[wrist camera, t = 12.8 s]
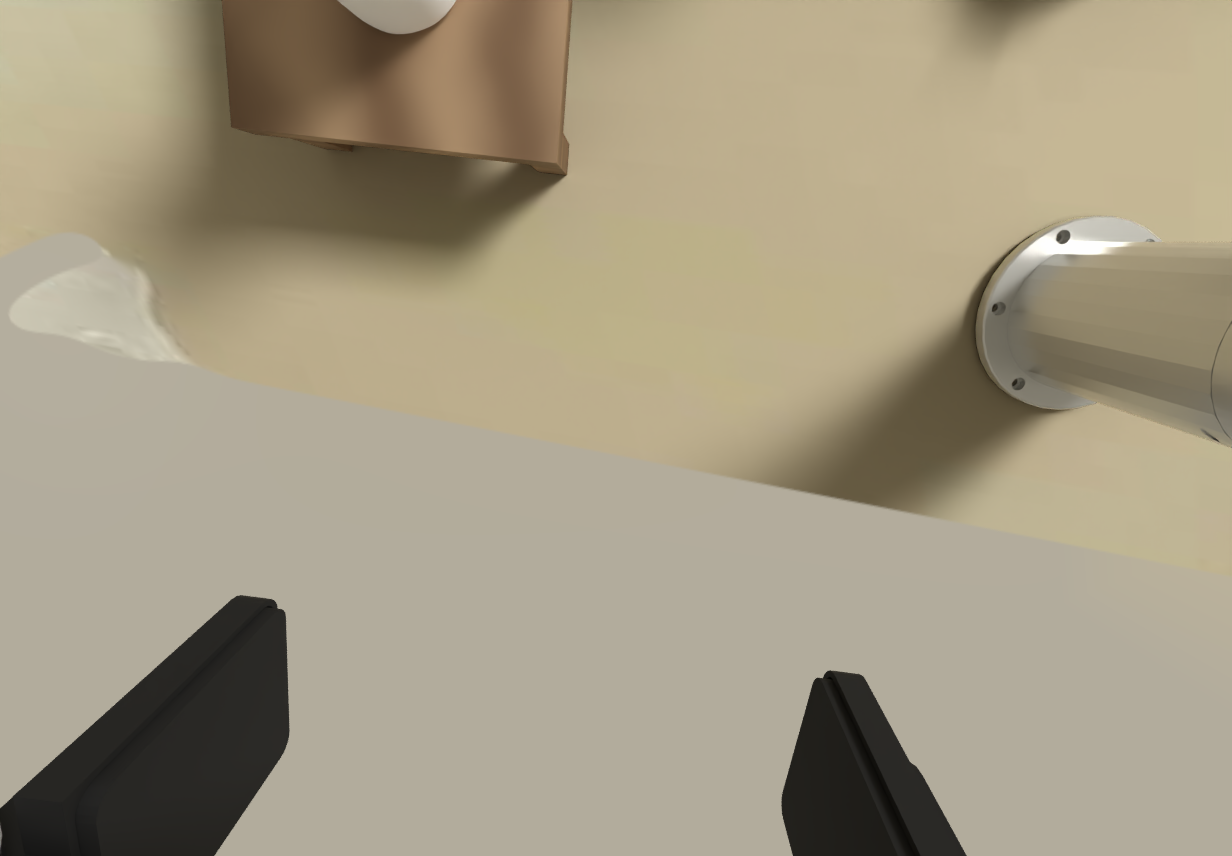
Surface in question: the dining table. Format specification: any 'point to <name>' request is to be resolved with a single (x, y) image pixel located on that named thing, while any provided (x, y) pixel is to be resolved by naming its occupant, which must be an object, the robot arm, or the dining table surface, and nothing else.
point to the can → (399, 13)
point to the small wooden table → (404, 79)
